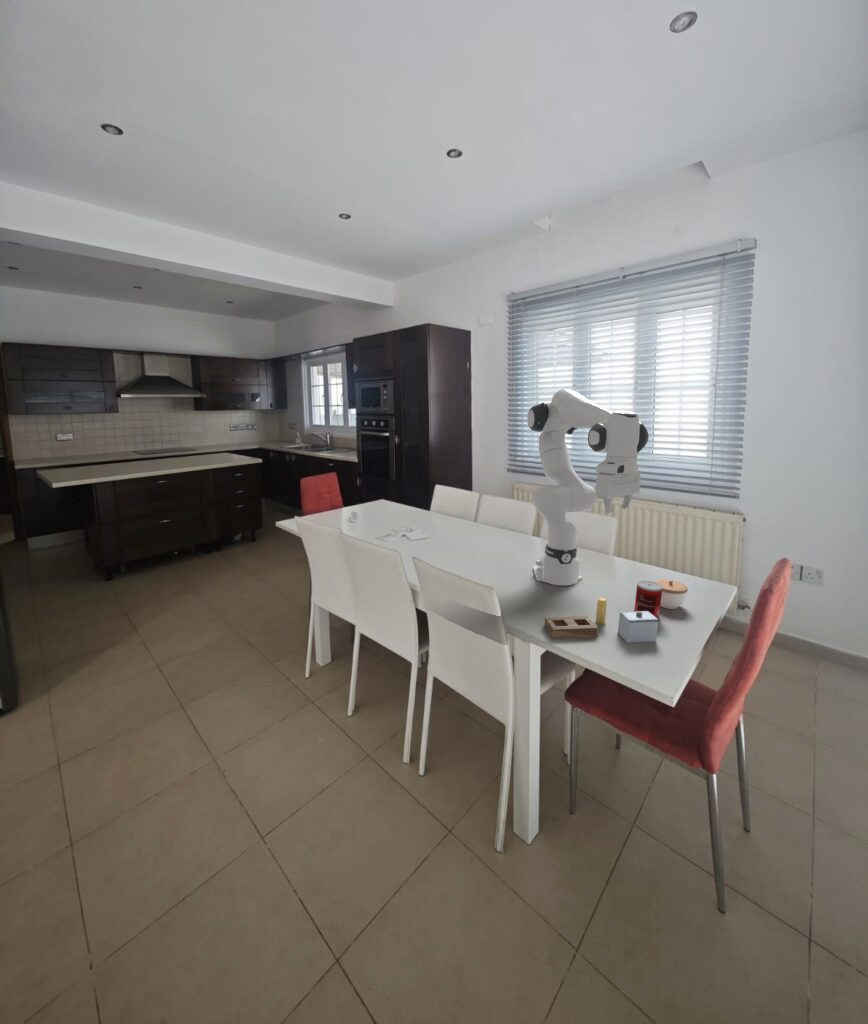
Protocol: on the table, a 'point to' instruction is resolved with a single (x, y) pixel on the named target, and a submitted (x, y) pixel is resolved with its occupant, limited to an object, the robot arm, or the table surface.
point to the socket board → (570, 627)
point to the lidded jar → (672, 593)
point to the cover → (638, 626)
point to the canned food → (648, 597)
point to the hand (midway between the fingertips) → (617, 510)
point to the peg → (601, 611)
